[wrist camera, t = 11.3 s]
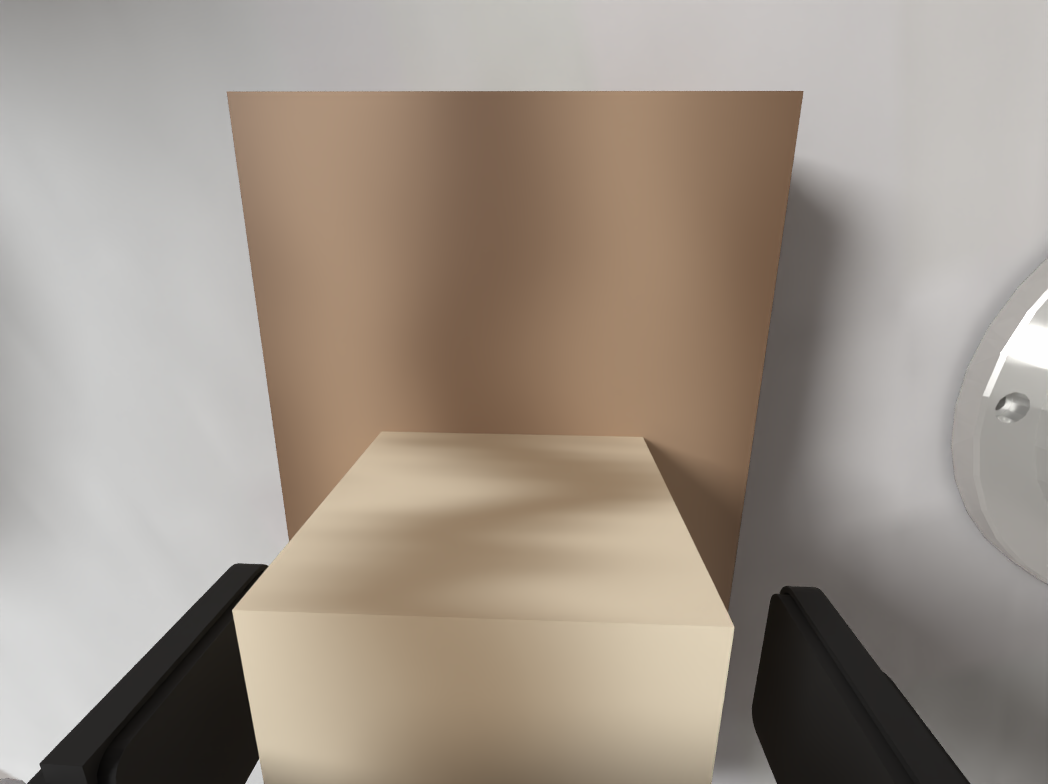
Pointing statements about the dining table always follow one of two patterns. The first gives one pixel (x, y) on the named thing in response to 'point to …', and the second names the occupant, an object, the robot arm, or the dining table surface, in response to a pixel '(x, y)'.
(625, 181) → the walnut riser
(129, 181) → the dining table surface
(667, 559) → the birch cube
